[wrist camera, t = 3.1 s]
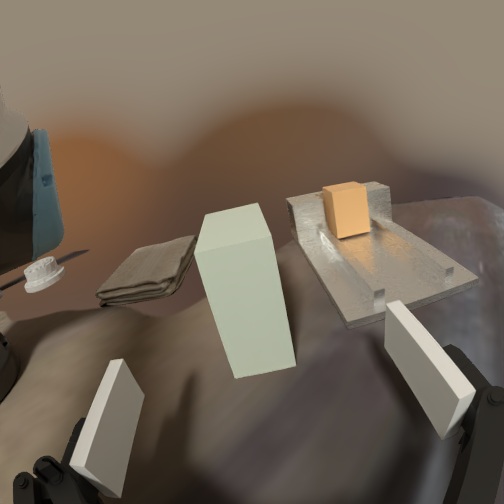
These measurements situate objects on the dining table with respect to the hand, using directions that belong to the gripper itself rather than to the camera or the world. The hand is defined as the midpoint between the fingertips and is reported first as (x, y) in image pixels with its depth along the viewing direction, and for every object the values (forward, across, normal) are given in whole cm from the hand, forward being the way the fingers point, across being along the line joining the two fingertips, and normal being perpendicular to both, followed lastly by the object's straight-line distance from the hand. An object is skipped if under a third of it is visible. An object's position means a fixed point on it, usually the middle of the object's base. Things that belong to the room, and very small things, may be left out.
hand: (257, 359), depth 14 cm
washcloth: (+30, -14, -7) cm, 34 cm away
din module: (+10, 0, -6) cm, 11 cm away
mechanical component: (+38, -42, -6) cm, 57 cm away
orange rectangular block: (+26, +14, -5) cm, 30 cm away
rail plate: (+20, +14, -6) cm, 25 cm away
